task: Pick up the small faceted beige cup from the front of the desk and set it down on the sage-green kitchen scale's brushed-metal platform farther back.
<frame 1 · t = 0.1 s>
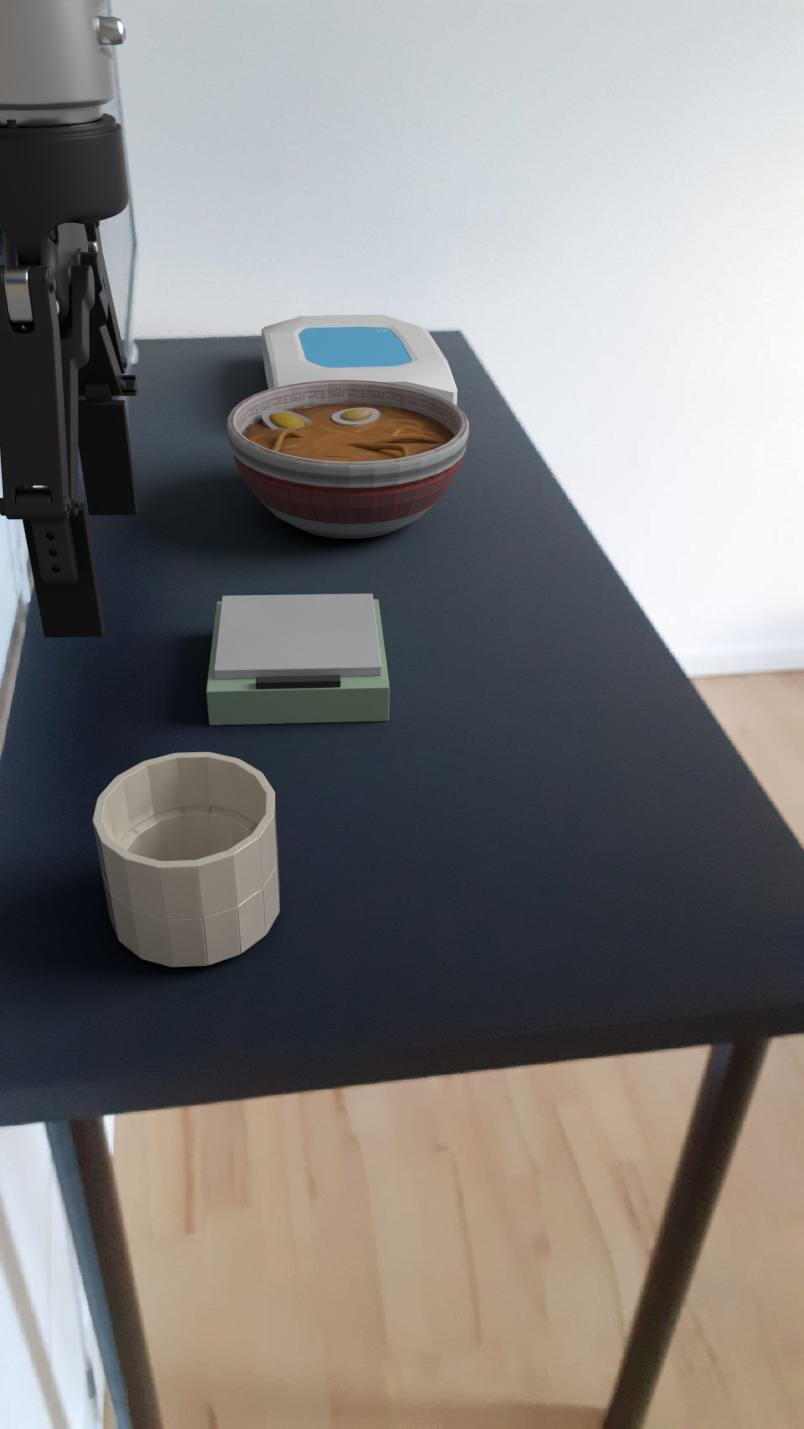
hand: (96, 567, 57), 19 cm above the table, tool pointing down, fingers open, 13 cm apart
document scanner: (352, 396, 137), on the table
scale: (299, 674, 84), on the table
faceted beige cup: (197, 911, 63), on the table
bowl: (348, 517, 108), on the table
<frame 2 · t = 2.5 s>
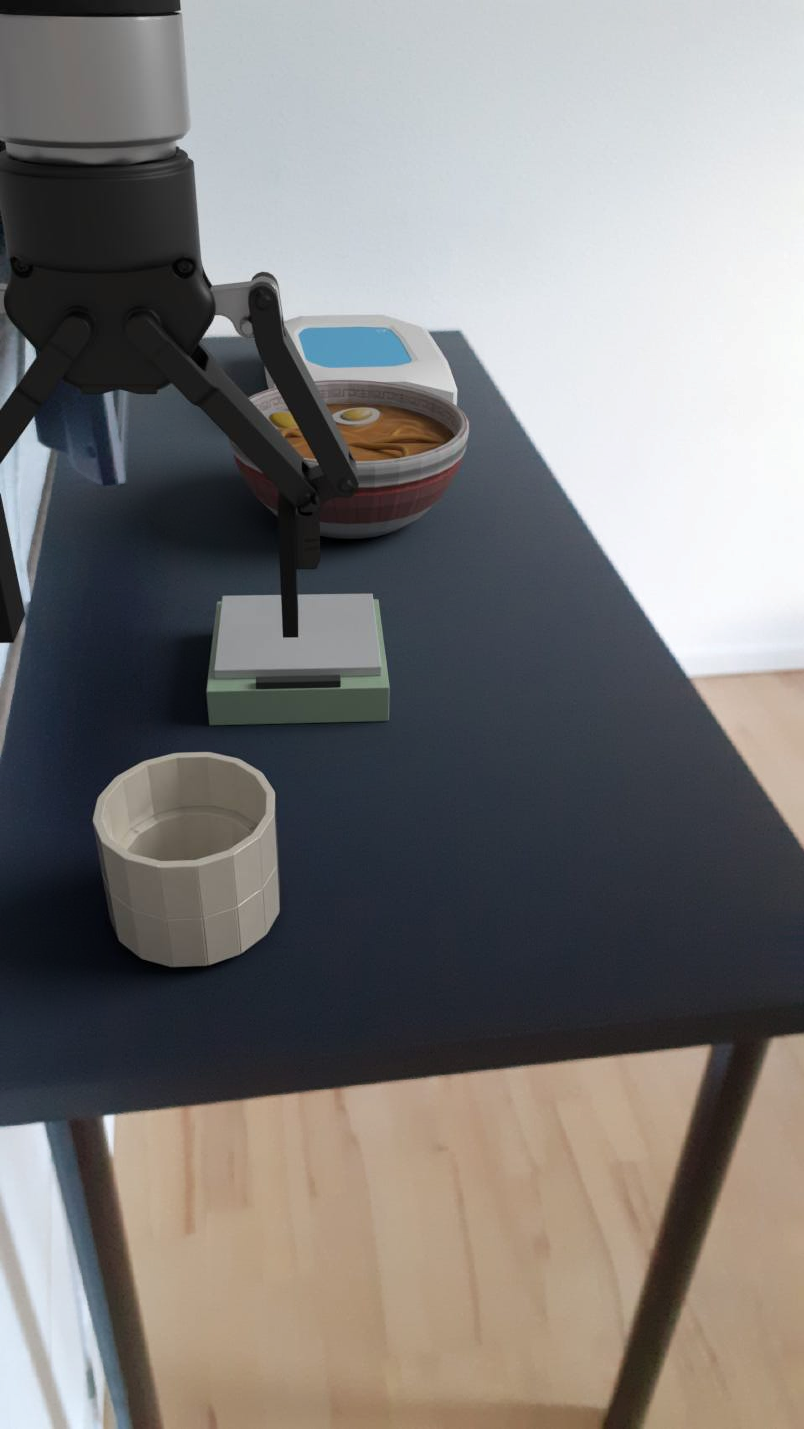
hand: (152, 627, 53), 18 cm above the table, tool pointing down, fingers open, 13 cm apart
nothing on the table moved.
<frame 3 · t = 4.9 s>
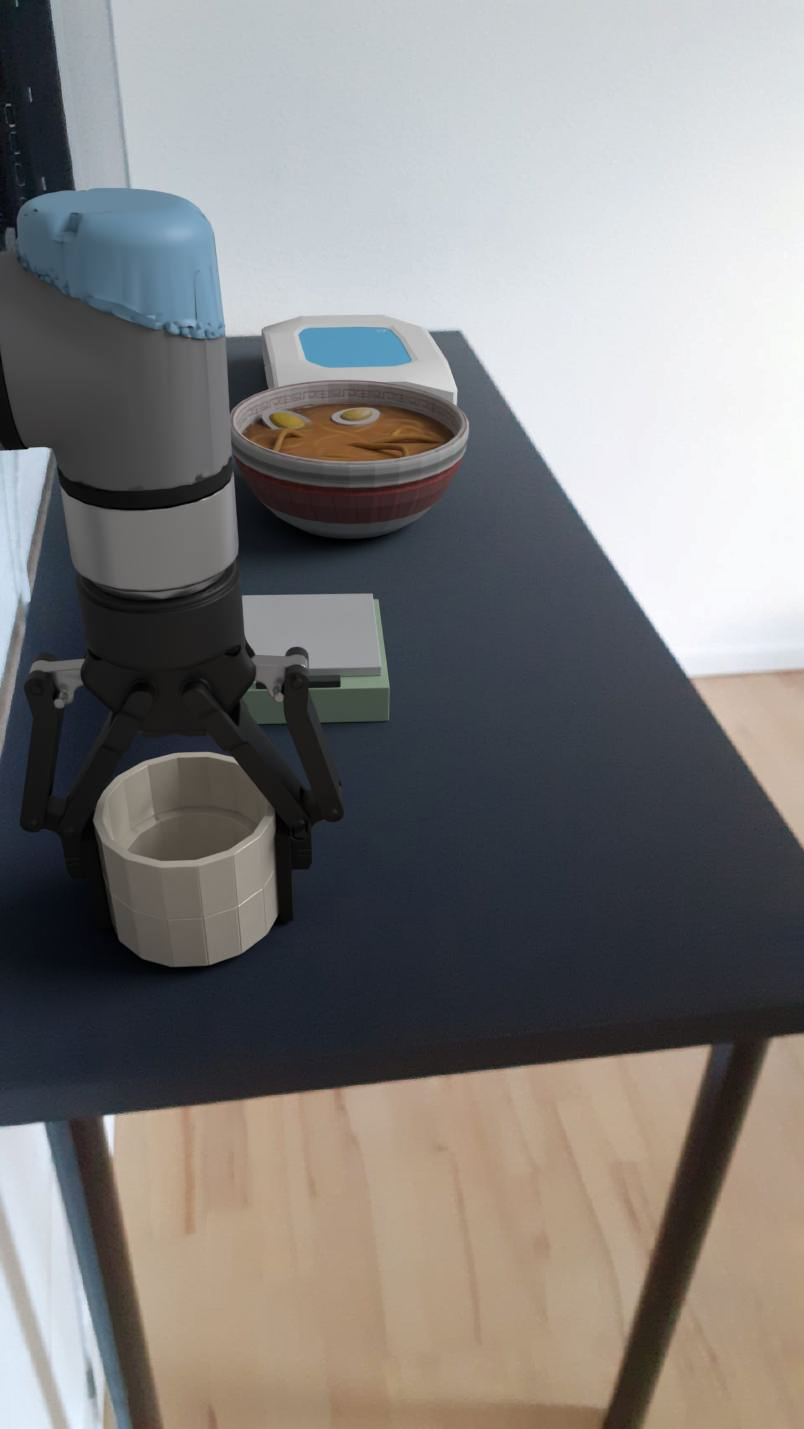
hand: (197, 907, 63), 0 cm above the table, tool pointing down, fingers closed on faceted beige cup, 10 cm apart
faceted beige cup: (197, 910, 63), on the table, touching gripper
everything else where it was.
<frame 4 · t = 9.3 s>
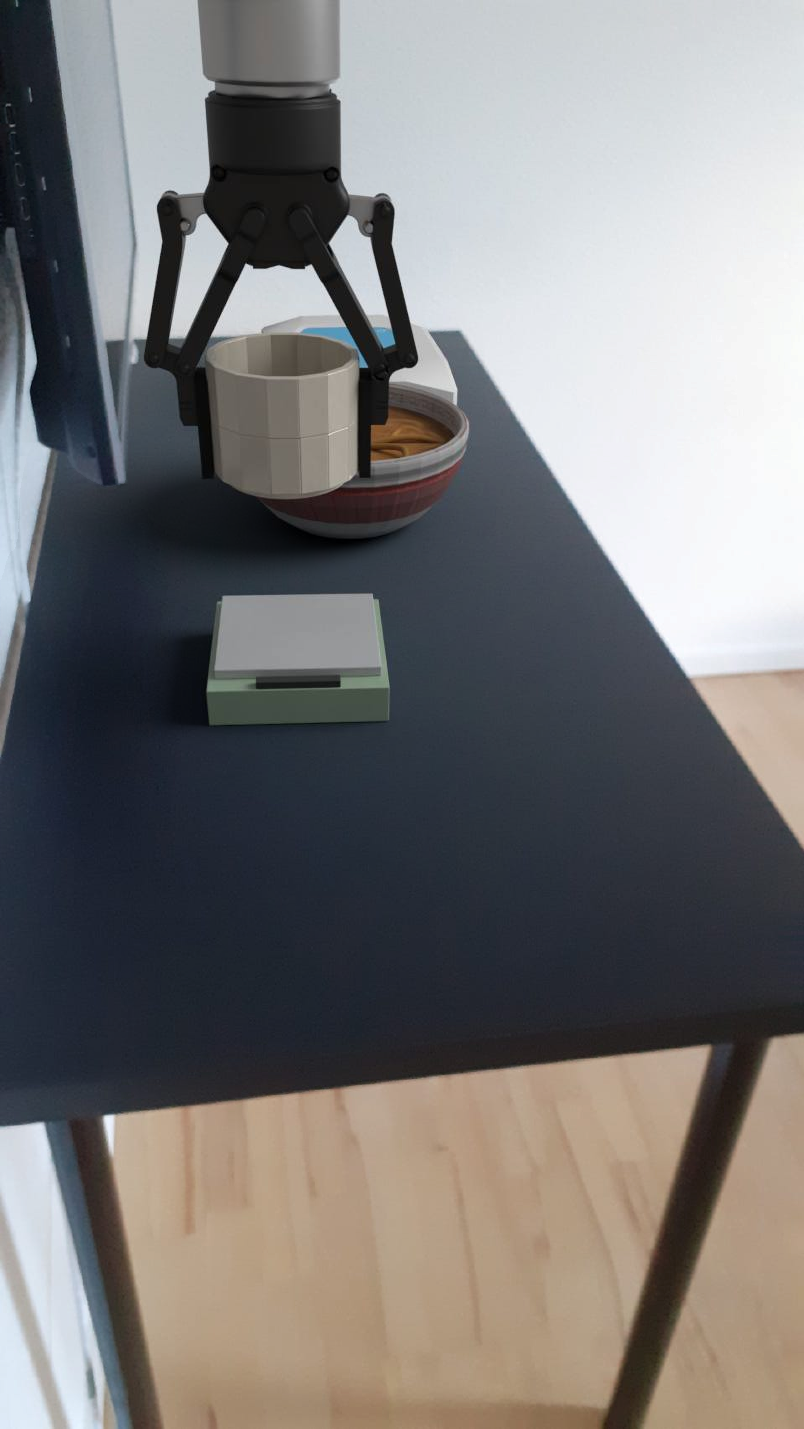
hand: (287, 470, 73), 17 cm above the table, tool pointing down, fingers closed on faceted beige cup, 10 cm apart
faceted beige cup: (287, 474, 73), point 17 cm above the table, touching gripper
everything else where it was.
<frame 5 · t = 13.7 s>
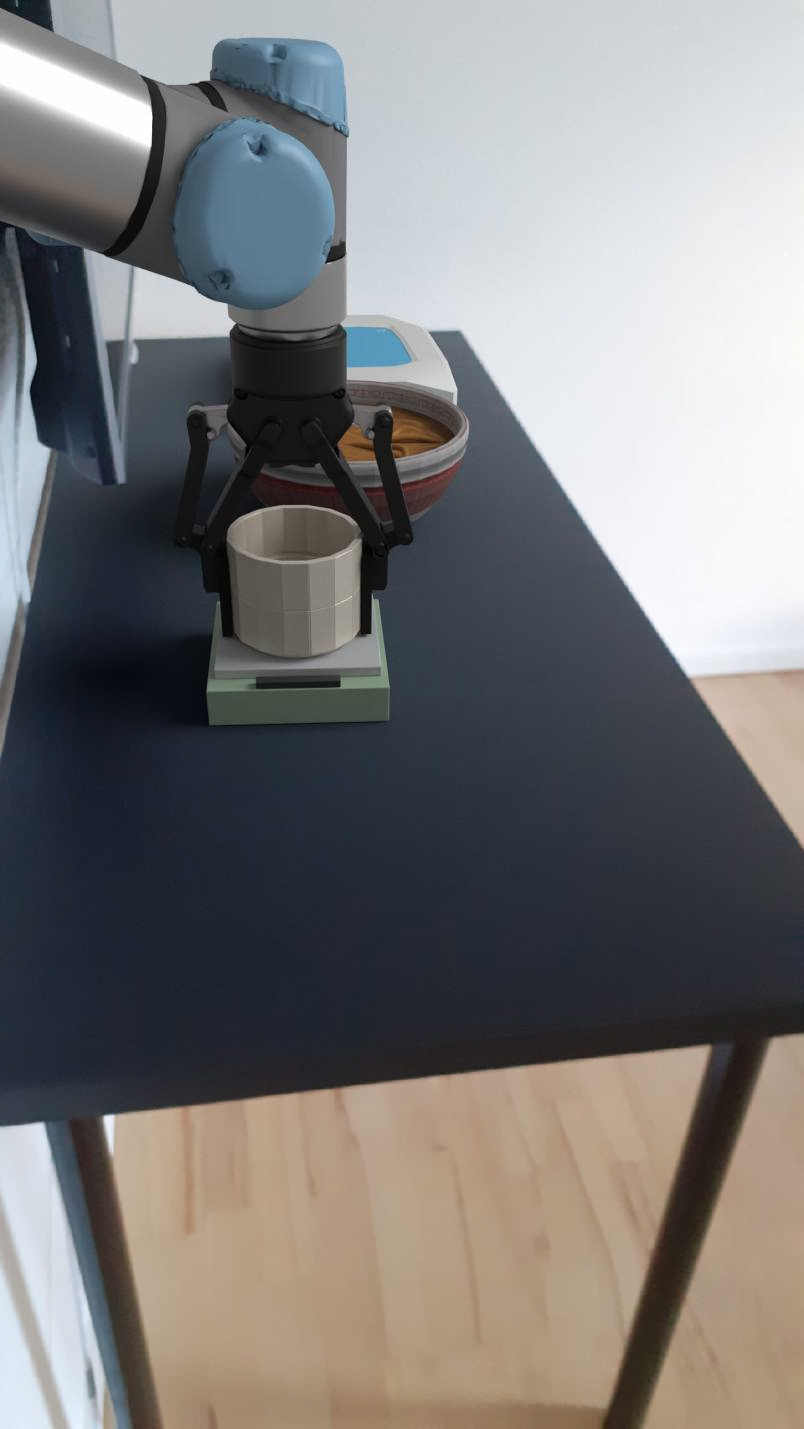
hand: (297, 626, 82), 4 cm above the table, tool pointing down, fingers closed on faceted beige cup, 10 cm apart
faceted beige cup: (297, 629, 82), point 4 cm above the table, touching gripper
everything else where it was.
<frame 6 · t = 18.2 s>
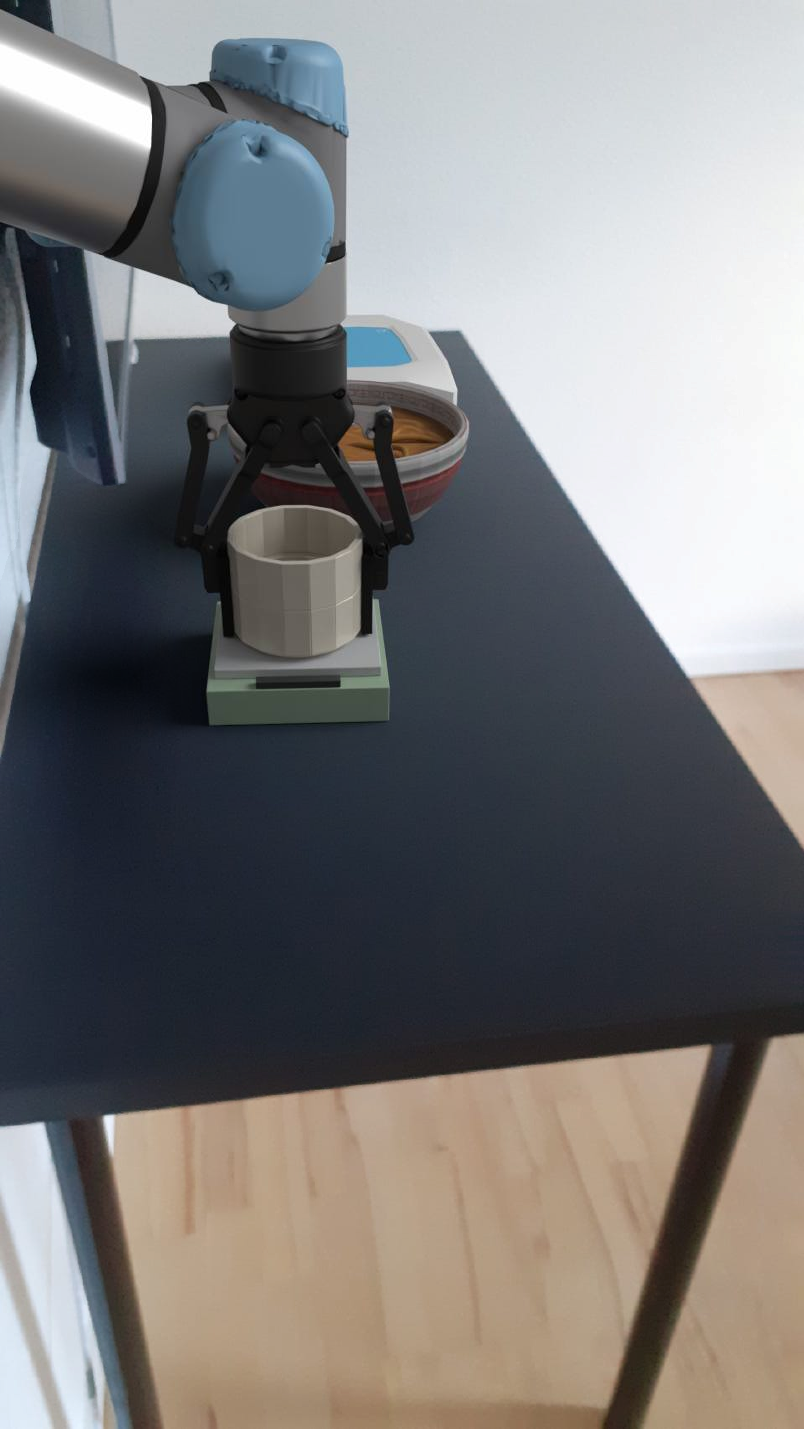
hand: (298, 626, 82), 4 cm above the table, tool pointing down, fingers closed on faceted beige cup, 10 cm apart
faceted beige cup: (298, 629, 82), point 4 cm above the table, touching gripper
everything else where it was.
when the fingers open (5 cm above the table, at t = 22.2 s): faceted beige cup drops 1 cm, resting on scale.
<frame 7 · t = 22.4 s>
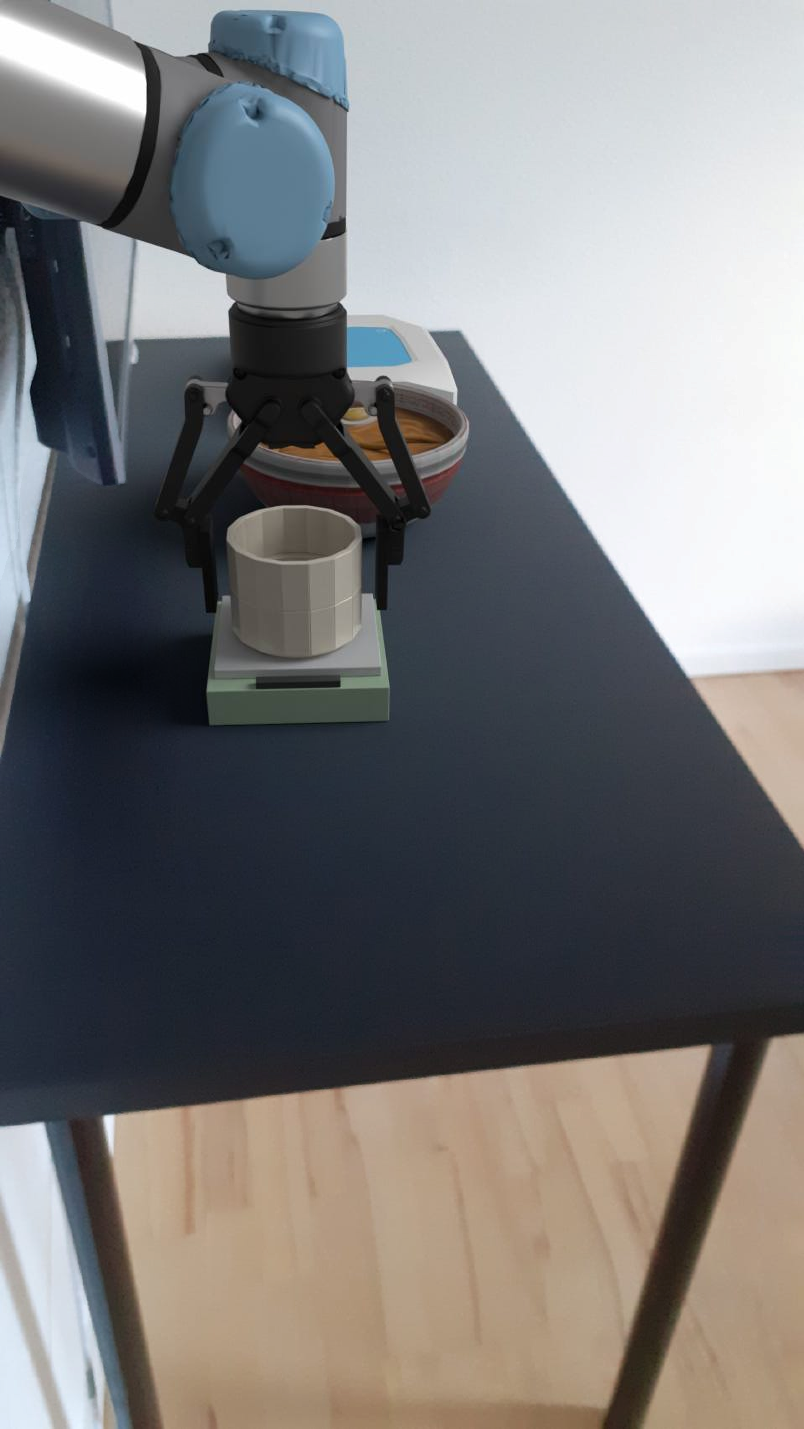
hand: (297, 603, 81), 6 cm above the table, tool pointing down, fingers open, 12 cm apart
faceted beige cup: (297, 629, 82), point 4 cm above the table, touching scale
everything else where it was.
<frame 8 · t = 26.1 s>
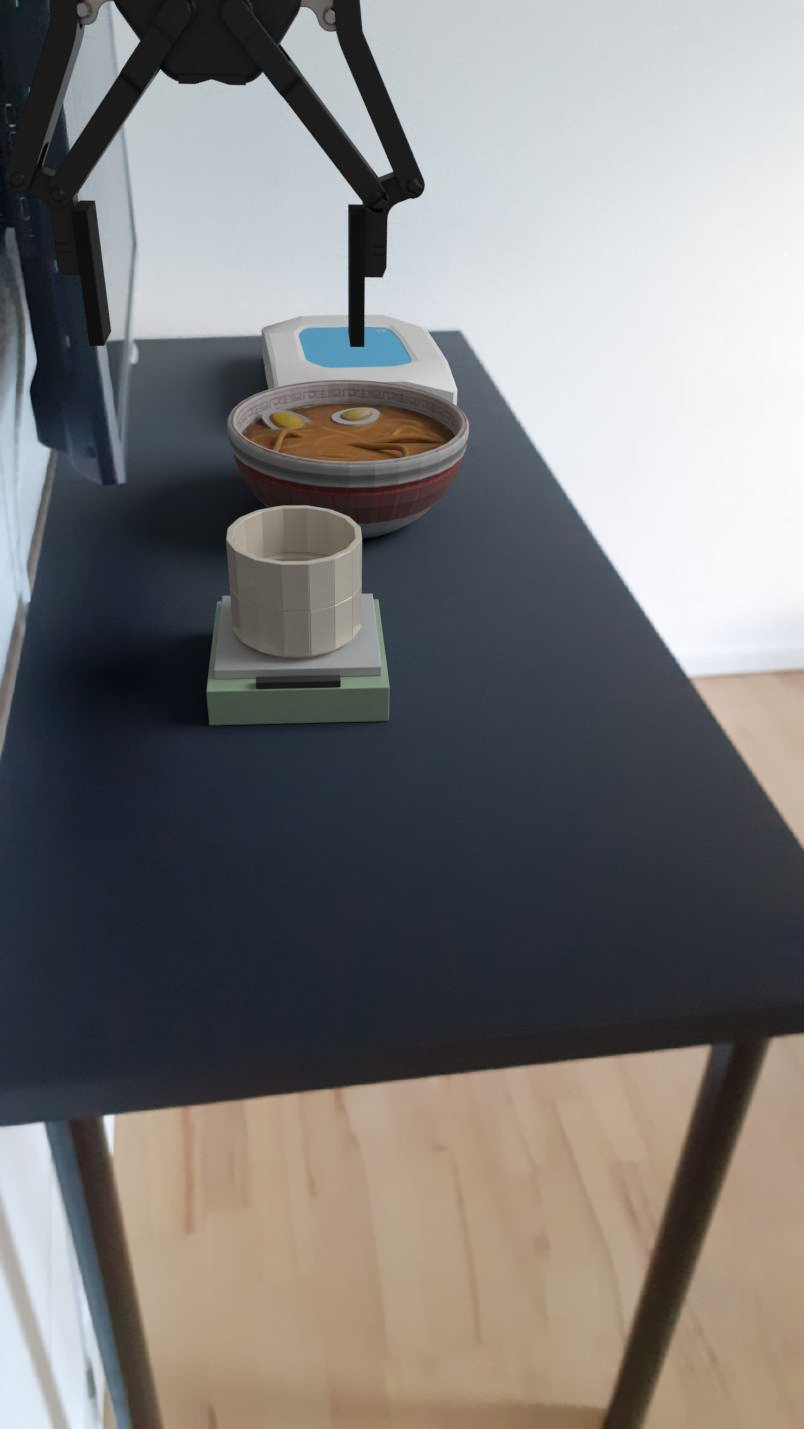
hand: (229, 340, 58), 29 cm above the table, tool pointing down, fingers open, 13 cm apart
nothing on the table moved.
at the end: faceted beige cup inside the target area on the scale (0.0 cm from its centre), point 3.8 cm above the scale's base; faceted beige cup tilted 0° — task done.
